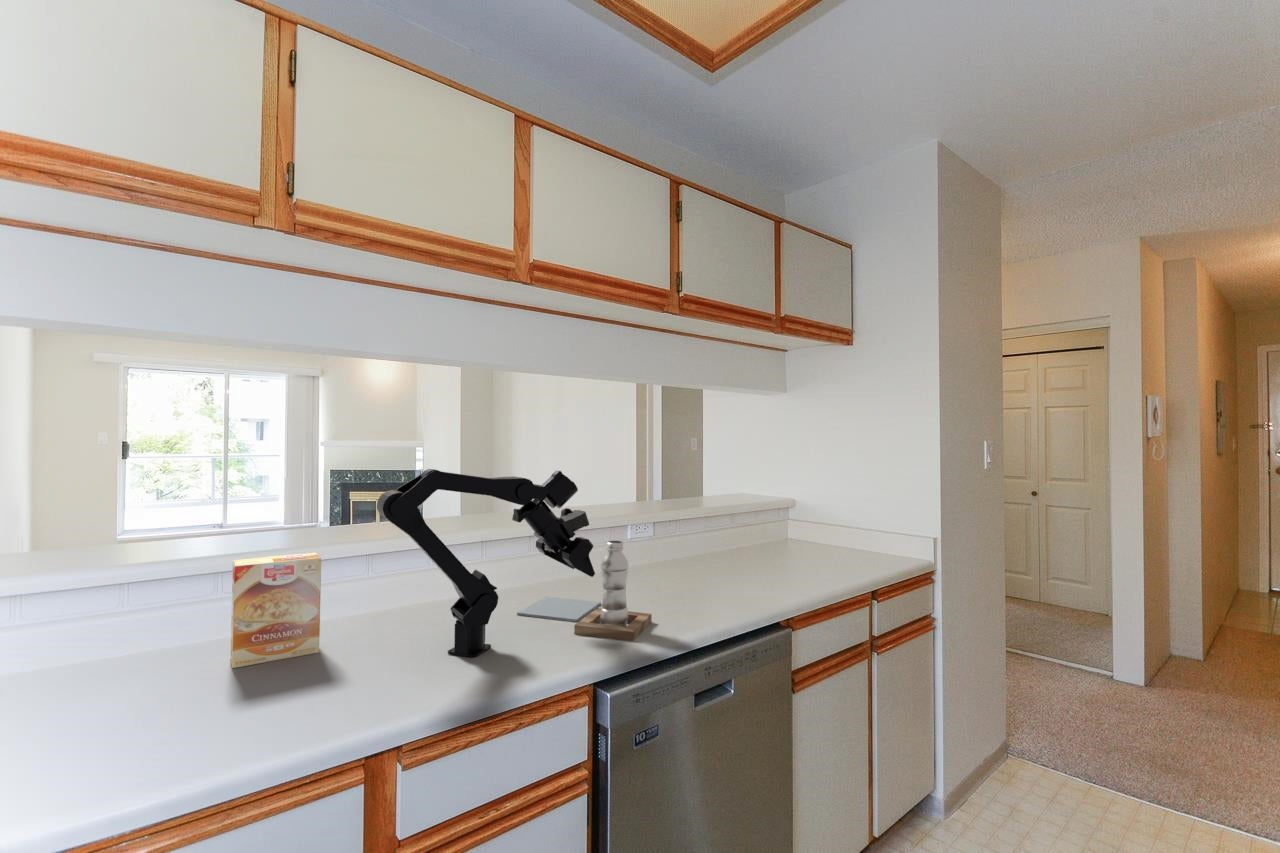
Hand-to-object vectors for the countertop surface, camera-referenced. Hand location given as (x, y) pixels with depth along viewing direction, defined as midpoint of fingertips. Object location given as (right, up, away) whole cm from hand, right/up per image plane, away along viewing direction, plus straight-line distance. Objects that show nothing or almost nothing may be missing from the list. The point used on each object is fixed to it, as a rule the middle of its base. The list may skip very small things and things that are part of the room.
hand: (583, 571), depth 140 cm
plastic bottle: (+7, -14, +1) cm, 15 cm away
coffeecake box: (-60, -13, -18) cm, 64 cm away
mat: (-7, -13, +15) cm, 22 cm away
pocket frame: (+7, -13, +1) cm, 15 cm away
